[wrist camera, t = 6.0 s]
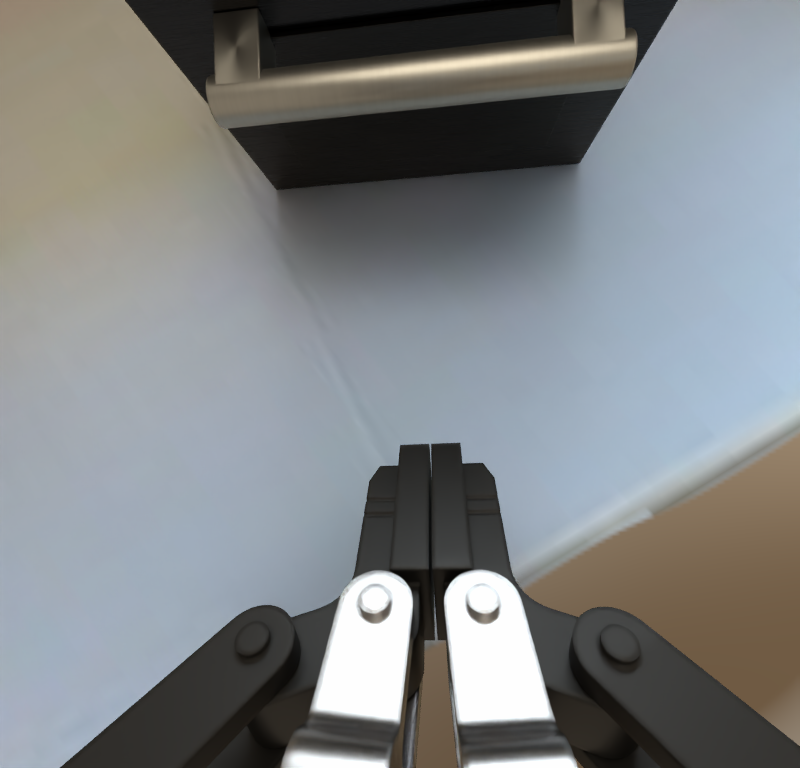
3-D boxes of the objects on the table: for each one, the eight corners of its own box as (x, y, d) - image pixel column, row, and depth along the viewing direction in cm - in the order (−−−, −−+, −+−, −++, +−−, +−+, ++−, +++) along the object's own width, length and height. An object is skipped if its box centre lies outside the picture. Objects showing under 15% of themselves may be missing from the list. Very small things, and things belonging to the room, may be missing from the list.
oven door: (582, 219, 22) (804, -51, 9) (278, 243, 24) (62, 41, 10) (578, 133, 23) (789, -267, 9) (275, 161, 24) (57, -146, 10)
